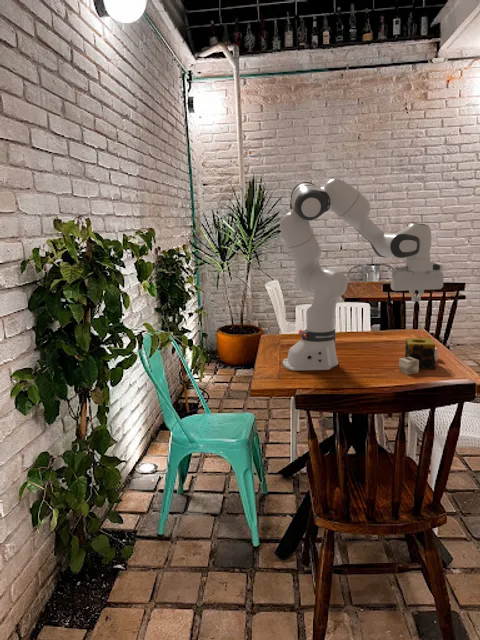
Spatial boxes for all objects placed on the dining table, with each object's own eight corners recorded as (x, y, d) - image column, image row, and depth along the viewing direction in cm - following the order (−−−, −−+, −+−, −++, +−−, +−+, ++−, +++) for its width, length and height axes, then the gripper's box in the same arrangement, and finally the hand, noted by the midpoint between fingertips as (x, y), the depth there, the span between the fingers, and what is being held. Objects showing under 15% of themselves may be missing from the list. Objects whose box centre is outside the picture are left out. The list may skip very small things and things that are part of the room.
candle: (435, 369, 181) (436, 344, 179) (407, 369, 183) (408, 344, 181) (430, 362, 191) (431, 337, 189) (404, 361, 193) (405, 337, 191)
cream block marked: (424, 360, 192) (424, 348, 191) (421, 357, 197) (421, 345, 196) (437, 360, 192) (437, 348, 191) (433, 357, 197) (434, 345, 196)
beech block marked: (407, 374, 177) (407, 361, 176) (398, 371, 181) (399, 357, 180) (418, 373, 178) (418, 359, 177) (410, 369, 183) (410, 356, 182)
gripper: (395, 267, 180) (394, 303, 183) (446, 265, 182) (444, 301, 185) (388, 266, 186) (387, 301, 189) (437, 264, 188) (435, 298, 191)
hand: (415, 301), depth 187 cm, fingers closed
